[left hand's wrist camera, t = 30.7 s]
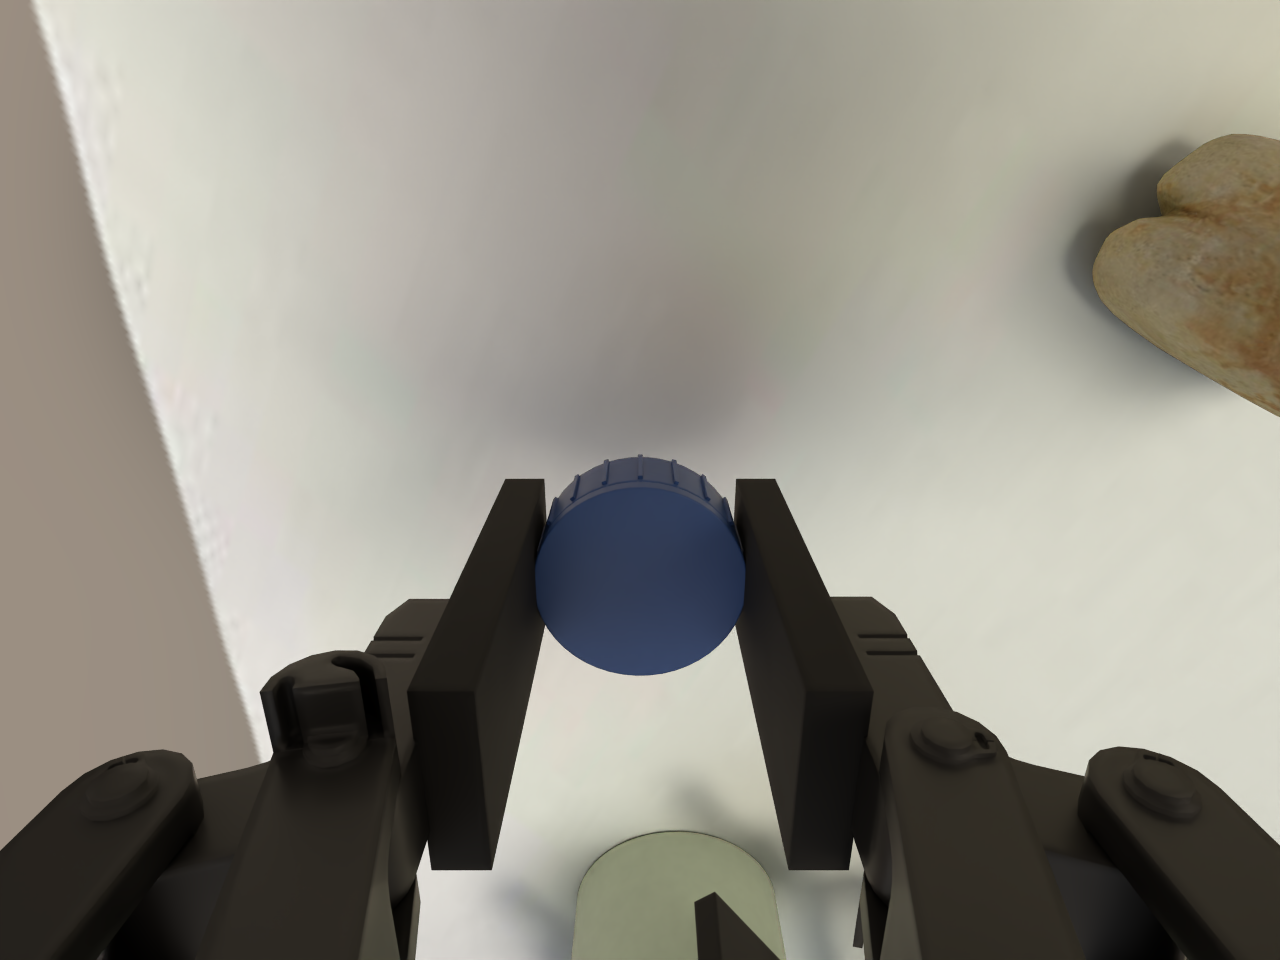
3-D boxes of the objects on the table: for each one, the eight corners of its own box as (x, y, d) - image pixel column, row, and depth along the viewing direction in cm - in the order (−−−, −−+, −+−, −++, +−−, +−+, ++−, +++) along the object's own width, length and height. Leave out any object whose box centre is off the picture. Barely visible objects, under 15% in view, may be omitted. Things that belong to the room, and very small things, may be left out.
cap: (634, 664, 16) (634, 714, 14) (499, 541, 15) (483, 581, 13) (779, 552, 15) (794, 593, 13) (645, 412, 14) (646, 439, 12)
